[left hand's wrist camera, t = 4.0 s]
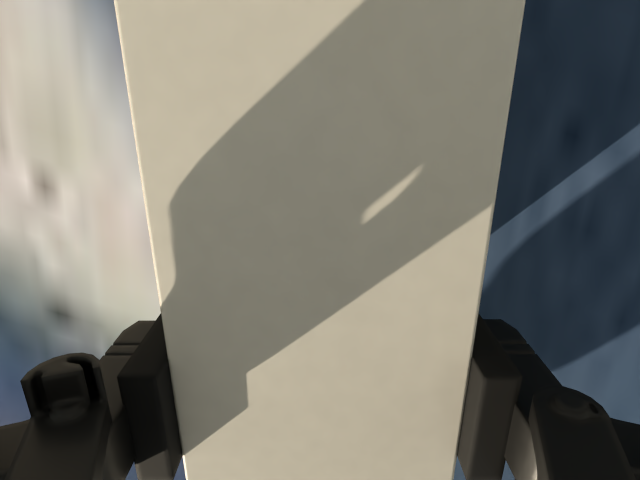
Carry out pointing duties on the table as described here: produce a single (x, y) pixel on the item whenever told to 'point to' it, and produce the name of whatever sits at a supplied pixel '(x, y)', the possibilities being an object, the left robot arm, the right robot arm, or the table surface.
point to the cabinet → (319, 222)
